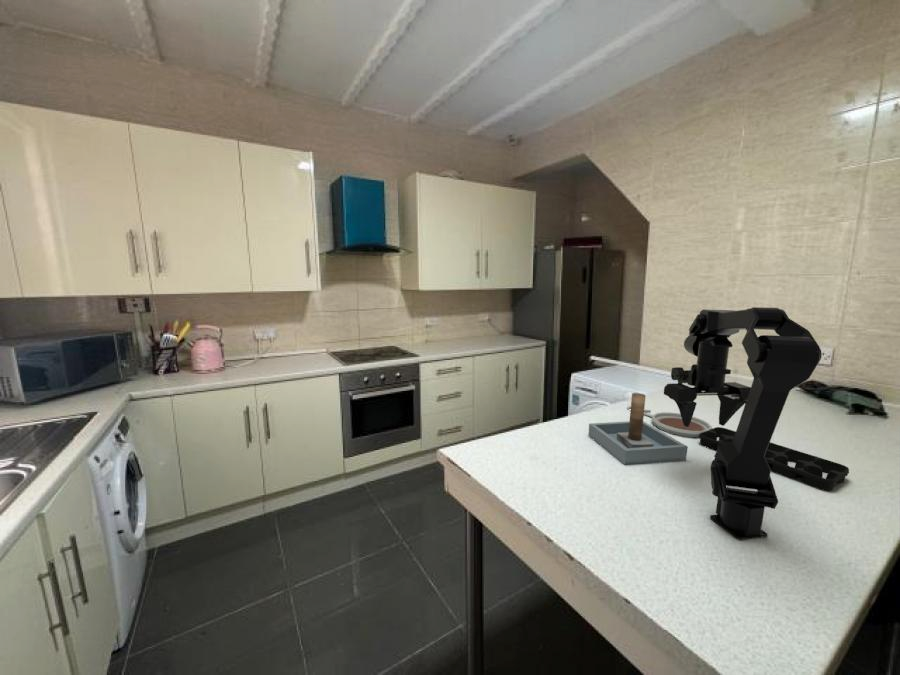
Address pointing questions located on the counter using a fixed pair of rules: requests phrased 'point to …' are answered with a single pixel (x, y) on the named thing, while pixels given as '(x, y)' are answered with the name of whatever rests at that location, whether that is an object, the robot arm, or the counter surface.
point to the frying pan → (678, 424)
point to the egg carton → (779, 457)
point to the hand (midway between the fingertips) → (703, 425)
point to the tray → (660, 452)
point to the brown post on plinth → (635, 424)
